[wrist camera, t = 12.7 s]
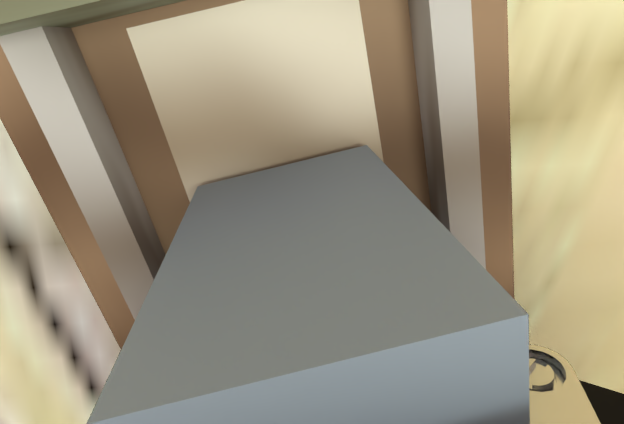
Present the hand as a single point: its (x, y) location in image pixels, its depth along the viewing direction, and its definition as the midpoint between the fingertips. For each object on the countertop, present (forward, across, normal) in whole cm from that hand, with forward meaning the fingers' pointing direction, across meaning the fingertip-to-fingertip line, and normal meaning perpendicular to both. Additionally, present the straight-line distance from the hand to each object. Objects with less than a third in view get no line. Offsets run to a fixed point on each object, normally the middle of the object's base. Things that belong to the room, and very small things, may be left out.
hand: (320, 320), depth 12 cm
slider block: (+2, 0, 0) cm, 2 cm away
